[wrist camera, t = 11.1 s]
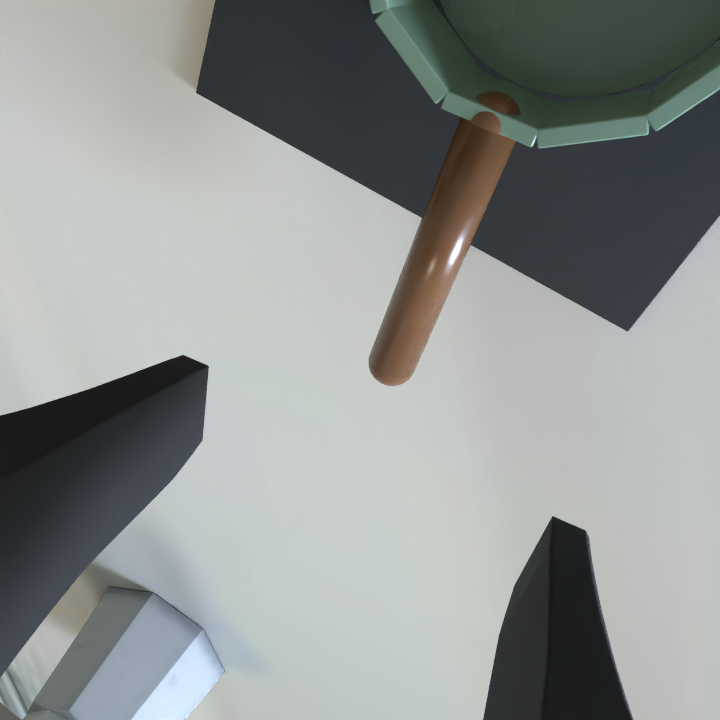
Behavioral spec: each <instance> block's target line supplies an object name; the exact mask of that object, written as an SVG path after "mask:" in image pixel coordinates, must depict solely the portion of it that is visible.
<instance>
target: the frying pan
mask: <svg viewBox="0 0 720 720" xmlns="http://www.w3.org/2000/svg"><path fill="white" fill-rule="evenodd" d="M369 1H370V7H371V12H372V14H376V13H381V12H382V13H381V14H380V15H379V16H378V17H377V18H376V19H375V22H376V23H377V25H378V26H379V28H380V29H381V30H382V32H383V33H384V34H385V36H386V37H387V39H388V40H389V41H390V43H391V44H392V45H393V47H394V48H395V49H396V51H397V52H398V54H399V55H400V56H401V58H402V59H403V60H404V62H405V63H406V65H407V66H408V67H409V69H410V70H411V71H412V73H413V74H414V76H415V77H416V78H417V80H418V81H419V82H420V84H421V85H422V86H423V88H424V89H425V91H426V92H427V93H428V95H429V96H430V97H431V99H432V100H433V102H434V103H436V104H437V103H439V102H440V101H442V100H443V102H442V105H441V108H442V109H443V110H445V111H448V112H450V113H452V114H455V115H457V116H459V117H461V118H460V120H459V123H458V126H457V128H456V131H455V133H454V136H453V139H452V141H451V144H450V147H449V149H448V152H447V154H446V157H445V160H444V162H443V165H442V167H441V170H440V173H439V175H438V178H437V181H436V183H435V186H434V188H433V191H432V194H431V196H430V199H429V201H428V204H427V207H426V209H425V212H424V215H423V217H422V220H421V222H420V225H419V228H418V230H417V233H416V235H415V238H414V241H413V243H412V246H411V248H410V251H409V254H408V256H407V259H406V262H405V264H404V267H403V269H402V272H401V275H400V277H399V280H398V282H397V285H396V288H395V290H394V293H393V296H392V298H391V301H390V303H389V306H388V309H387V311H386V314H385V316H384V319H383V322H382V324H381V327H380V330H379V332H378V335H377V337H376V340H375V343H374V345H373V348H372V350H371V353H370V356H369V368H370V371H371V373H372V375H373V377H374V378H375V379H376V380H377V381H379V382H380V383H382V384H384V385H389V386H396V385H400V384H403V383H404V382H406V381H407V380H408V379H409V378H410V377H411V376H412V374H413V373H414V371H415V368H416V366H417V364H418V362H419V359H420V357H421V355H422V353H423V350H424V348H425V346H426V344H427V341H428V339H429V337H430V334H431V332H432V330H433V328H434V325H435V323H436V321H437V319H438V316H439V314H440V312H441V310H442V307H443V305H444V303H445V301H446V298H447V296H448V294H449V292H450V289H451V287H452V285H453V283H454V280H455V278H456V276H457V273H458V271H459V269H460V267H461V264H462V262H463V260H464V258H465V255H466V253H467V251H468V249H469V246H470V244H471V242H472V240H473V237H474V235H475V233H476V231H477V228H478V226H479V224H480V221H481V219H482V217H483V215H484V212H485V210H486V208H487V206H488V203H489V201H490V199H491V197H492V194H493V192H494V190H495V188H496V185H497V183H498V181H499V179H500V176H501V174H502V172H503V170H504V167H505V165H506V163H507V160H508V158H509V156H510V154H511V151H512V149H513V147H514V145H515V142H516V141H517V142H519V143H522V144H524V145H526V146H529V147H532V146H533V145H534V144H535V142H536V141H537V146H538V148H548V147H556V146H564V145H572V144H580V143H588V142H596V141H604V140H612V139H620V138H628V137H636V136H644V135H648V133H649V128H650V125H651V127H652V128H653V130H654V131H658V130H660V129H661V128H663V127H664V126H666V125H667V124H669V123H670V122H672V121H673V120H675V119H676V118H678V117H679V116H681V115H682V114H684V113H685V112H687V111H688V110H690V109H691V108H693V107H694V106H696V105H697V104H699V103H700V102H702V101H703V100H705V99H706V98H708V97H709V96H711V95H712V94H714V93H715V92H717V91H718V90H720V40H719V41H718V42H716V43H715V44H714V45H712V46H711V47H709V48H708V49H707V50H705V49H706V48H707V47H708V46H710V45H711V44H712V43H713V42H715V41H716V40H717V39H718V38H719V37H720V0H440V2H441V4H442V7H443V9H444V11H445V13H446V16H447V18H448V19H449V21H450V23H451V24H452V26H453V27H454V29H455V31H456V32H457V34H458V36H459V37H460V38H461V39H462V41H463V42H464V43H465V44H466V45H467V47H468V48H469V49H470V50H471V52H472V53H473V54H475V55H476V56H477V57H478V58H479V59H480V60H481V61H482V62H483V63H484V64H485V65H486V66H488V67H489V68H491V69H492V70H493V71H495V72H496V73H498V74H499V75H501V76H502V77H504V78H506V79H508V80H510V81H512V82H513V83H515V84H517V85H519V86H517V85H515V84H512V83H510V82H508V81H505V80H503V79H500V78H498V77H496V76H493V75H491V74H488V73H486V72H484V71H482V70H481V68H480V67H479V66H478V64H477V63H476V61H475V60H474V58H473V57H472V56H471V54H470V53H469V51H468V50H467V49H466V47H465V46H464V44H463V43H462V42H461V40H460V39H459V37H458V36H457V34H456V33H455V32H454V30H453V29H452V27H451V26H450V25H449V23H448V22H447V20H446V19H445V18H444V16H443V15H442V13H441V12H440V10H439V9H438V8H437V6H436V5H435V3H434V2H433V1H432V0H369ZM703 50H705V51H704V52H702V51H703ZM701 52H702V53H701ZM700 53H701V54H700ZM698 54H700V55H698ZM697 55H698V56H697ZM696 56H697V57H696ZM693 58H694V59H693ZM691 59H692V60H691ZM690 60H691V61H690ZM688 61H690V62H688ZM687 62H688V63H687ZM685 63H687V64H685ZM684 64H685V65H684ZM682 65H684V66H683V67H681V68H680V69H678V70H677V71H676V72H674V73H673V74H671V75H670V76H669V77H667V78H666V79H664V80H663V81H662V82H660V83H659V84H657V85H656V86H655V87H653V88H652V89H649V90H642V91H635V92H629V93H622V94H616V95H609V94H614V93H619V92H623V91H627V90H630V89H633V88H636V87H639V86H642V85H645V84H647V83H650V82H652V81H654V80H656V79H658V78H660V77H662V76H664V75H666V74H669V73H671V72H672V71H674V70H676V69H677V68H679V67H680V66H682ZM520 86H522V87H525V88H528V89H531V90H533V91H536V92H539V93H544V94H549V95H555V96H560V97H580V98H583V97H594V96H602V97H596V98H589V99H582V100H576V101H569V102H563V103H558V102H555V101H553V100H551V99H548V98H546V97H543V96H541V95H539V94H536V93H534V92H531V91H529V90H527V89H524V88H522V87H520ZM605 95H609V96H605Z"/></svg>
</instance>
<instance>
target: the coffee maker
mask: <svg viewBox="0 0 720 720" xmlns="http://www.w3.org/2000/svg"><path fill="white" fill-rule="evenodd" d="M224 672H225V671H224V669H223V667H222V666H221V664H220V662H219V660H218V658H217V656H216V654H215V652H214V650H213V648H212V646H211V644H210V642H209V640H208V638H207V636H206V634H205V632H204V630H203V629H202V628H201V627H199V626H198V625H197V624H195V623H194V622H192V621H191V620H190V619H188V618H187V617H186V616H184V615H183V614H181V613H180V612H179V611H177V610H176V609H175V608H173V607H172V606H171V605H169V604H168V603H166V602H165V601H164V600H162V599H161V598H160V597H158V596H157V595H155V594H154V593H151V592H143V591H135V590H127V589H119V588H112V587H109V589H108V590H107V592H106V593H105V595H104V596H103V598H102V599H101V601H100V602H99V604H98V605H97V607H96V608H95V610H94V611H93V613H92V614H91V616H90V617H89V619H88V620H87V622H86V623H85V625H84V626H83V628H82V629H81V631H80V632H79V634H78V635H77V637H76V638H75V640H74V641H73V643H72V644H71V646H70V647H69V649H68V650H67V652H66V653H65V655H64V656H63V658H62V659H61V661H60V662H59V664H58V665H57V667H56V668H55V670H54V671H53V673H52V674H51V676H50V677H49V679H48V680H47V682H46V683H45V685H44V686H43V688H42V689H41V691H40V692H39V694H38V695H37V697H36V698H35V700H34V701H33V703H32V705H31V707H30V709H29V711H28V713H27V715H26V716H25V717H24V718H23V720H185V719H186V717H187V716H188V715H189V714H190V713H191V712H192V710H193V709H194V708H195V707H196V706H197V705H198V703H199V702H200V701H201V700H202V699H203V698H204V696H205V695H206V694H207V693H208V692H209V690H210V689H211V688H212V687H213V685H214V684H215V683H216V682H217V680H218V679H219V678H220V677H221V676H222V674H223V673H224Z"/></svg>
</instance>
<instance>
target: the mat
mask: <svg viewBox="0 0 720 720" xmlns="http://www.w3.org/2000/svg"><path fill="white" fill-rule="evenodd" d="M432 1H433V2H434V3H435V5H436V6H437V8H438V9H439V10H440V12H441V13H442V15H443V16H444V18H445V19H446V20H447V22H448V23H449V25H450V26H451V27H452V29H453V30H454V32H455V33H456V34H457V32H456V31H455V29H454V27H453V26H452V24H451V23H450V21H449V19H448V18H447V16H446V13H445V11H444V9H443V7H442V4H441V2H440V0H432ZM381 13H382V12H381ZM381 13H376V14H372V12H371V7H370V1H369V0H215V5H214V10H213V14H212V19H211V24H210V29H209V33H208V38H207V43H206V48H205V53H204V57H203V62H202V67H201V72H200V76H199V81H198V86H197V91H196V93H197V94H199V95H201V96H203V97H205V98H206V99H208V100H210V101H212V102H214V103H216V104H217V105H219V106H221V107H223V108H225V109H226V110H228V111H230V112H232V113H234V114H235V115H237V116H239V117H241V118H243V119H244V120H246V121H248V122H250V123H252V124H253V125H255V126H257V127H259V128H261V129H263V130H264V131H266V132H268V133H270V134H272V135H273V136H275V137H277V138H279V139H281V140H282V141H284V142H286V143H288V144H290V145H291V146H293V147H295V148H297V149H299V150H300V151H302V152H304V153H306V154H308V155H310V156H311V157H313V158H315V159H317V160H319V161H320V162H322V163H324V164H326V165H328V166H329V167H331V168H333V169H335V170H337V171H338V172H340V173H342V174H344V175H346V176H348V177H349V178H351V179H353V180H355V181H357V182H358V183H360V184H362V185H364V186H366V187H367V188H369V189H371V190H373V191H375V192H376V193H378V194H380V195H382V196H384V197H385V198H387V199H389V200H391V201H393V202H395V203H396V204H398V205H400V206H402V207H404V208H405V209H407V210H409V211H411V212H413V213H414V214H416V215H418V216H420V217H423V215H424V212H425V209H426V207H427V204H428V201H429V199H430V196H431V194H432V191H433V188H434V186H435V183H436V181H437V178H438V175H439V173H440V170H441V167H442V165H443V162H444V160H445V157H446V154H447V152H448V149H449V147H450V144H451V141H452V139H453V136H454V133H455V131H456V128H457V126H458V123H459V120H460V118H461V117H459V116H457V115H455V114H452V113H450V112H448V111H445V110H443V109H442V108H441V105H442V102H443V100H442V101H440V102H439V103H437V104H436V103H434V102H433V100H432V99H431V97H430V96H429V95H428V93H427V92H426V91H425V89H424V88H423V86H422V85H421V84H420V82H419V81H418V80H417V78H416V77H415V76H414V74H413V73H412V71H411V70H410V69H409V67H408V66H407V65H406V63H405V62H404V60H403V59H402V58H401V56H400V55H399V54H398V52H397V51H396V49H395V48H394V47H393V45H392V44H391V43H390V41H389V40H388V39H387V37H386V36H385V34H384V33H383V32H382V30H381V29H380V28H379V26H378V25H377V23H376V22H375V19H376V18H377V17H378V16H379V15H380V14H381ZM457 36H458V34H457ZM458 37H459V36H458ZM459 39H460V40H461V42H462V43H463V44H464V46H465V47H466V49H467V50H468V51H469V53H470V54H471V56H472V57H473V58H474V60H475V61H476V63H477V64H478V66H479V67H480V68H481V70H482V71H484V72H486V73H488V74H491V75H493V76H496V77H498V78H500V79H503V80H505V81H508V82H510V83H512V84H515V83H513V82H512V81H510V80H508V79H506V78H504V77H502V76H501V75H499V74H498V73H496V72H495V71H493V70H492V69H491V68H489V67H488V66H486V65H485V64H484V63H483V62H482V61H481V60H480V59H479V58H478V57H477V56H476V55H475V54H473V53H472V52H471V50H470V49H469V48H468V47H467V45H466V44H465V43H464V42H463V41H462V39H461V38H460V37H459ZM719 40H720V37H719V38H718V39H717V40H716V41H715V42H713V43H712V44H711V45H710V46H708V47H707V48H706V49H705V50H707V49H708V48H709V47H711V46H712V45H714V44H715V43H716V42H718V41H719ZM705 50H703V51H702V52H704V51H705ZM702 52H701V53H702ZM701 53H700V54H701ZM700 54H698V55H700ZM698 55H697V56H698ZM697 56H696V57H697ZM693 59H694V58H693ZM691 60H692V59H691ZM691 60H690V61H691ZM690 61H688V62H690ZM688 62H687V63H688ZM687 63H685V64H687ZM685 64H684V65H685ZM684 65H682V66H680V67H679V68H677V69H676V70H674V71H672V72H671V73H669V74H666V75H664V76H662V77H660V78H658V79H656V80H654V81H652V82H650V83H647V84H645V85H642V86H639V87H636V88H633V89H630V90H627V91H623V92H619V93H614V94H609V95H616V94H622V93H629V92H635V91H642V90H649V89H652V88H653V87H655V86H656V85H657V84H659V83H660V82H662V81H663V80H664V79H666V78H667V77H669V76H670V75H671V74H673V73H674V72H676V71H677V70H678V69H680V68H681V67H683V66H684ZM515 85H517V84H515ZM517 86H519V85H517ZM520 87H522V86H520ZM522 88H524V89H527V90H529V91H531V92H534V93H536V94H539V95H541V96H543V97H546V98H548V99H551V100H553V101H555V102H558V103H563V102H569V101H576V100H582V99H589V98H596V97H602V96H594V97H583V98H580V97H560V96H555V95H549V94H544V93H539V92H536V91H533V90H531V89H528V88H525V87H522ZM609 95H605V96H609ZM719 216H720V90H718V91H717V92H715V93H714V94H712V95H711V96H709V97H708V98H706V99H705V100H703V101H702V102H700V103H699V104H697V105H696V106H694V107H693V108H691V109H690V110H688V111H687V112H685V113H684V114H682V115H681V116H679V117H678V118H676V119H675V120H673V121H672V122H670V123H669V124H667V125H666V126H664V127H663V128H661V129H660V130H658V131H654V130H653V128H652V127H651V125H650V128H649V133H648V135H644V136H636V137H628V138H620V139H612V140H604V141H596V142H588V143H580V144H572V145H564V146H556V147H548V148H538V146H537V141H536V142H535V144H534V145H533V146H532V147H529V146H526V145H524V144H522V143H519V142H517V141H516V142H515V145H514V147H513V149H512V151H511V154H510V156H509V158H508V160H507V163H506V165H505V167H504V170H503V172H502V174H501V176H500V179H499V181H498V183H497V185H496V188H495V190H494V192H493V194H492V197H491V199H490V201H489V203H488V206H487V208H486V210H485V212H484V215H483V217H482V219H481V221H480V224H479V226H478V228H477V231H476V233H475V235H474V237H473V240H472V242H471V244H470V245H472V246H474V247H476V248H478V249H479V250H481V251H483V252H485V253H487V254H489V255H490V256H492V257H494V258H496V259H498V260H499V261H501V262H503V263H505V264H507V265H508V266H510V267H512V268H514V269H516V270H517V271H519V272H521V273H523V274H525V275H527V276H528V277H530V278H532V279H534V280H536V281H537V282H539V283H541V284H543V285H545V286H546V287H548V288H550V289H552V290H554V291H555V292H557V293H559V294H561V295H563V296H564V297H566V298H568V299H570V300H572V301H574V302H575V303H577V304H579V305H581V306H583V307H584V308H586V309H588V310H590V311H592V312H593V313H595V314H597V315H599V316H601V317H602V318H604V319H606V320H608V321H610V322H611V323H613V324H615V325H617V326H619V327H621V328H622V329H624V330H626V331H629V329H630V328H631V327H632V326H633V324H634V323H635V322H636V321H637V319H638V318H639V317H640V316H641V314H642V313H643V312H644V310H645V309H646V308H647V307H648V305H649V304H650V303H651V302H652V300H653V299H654V298H655V297H656V295H657V294H658V293H659V291H660V290H661V289H662V288H663V286H664V285H665V284H666V283H667V281H668V280H669V279H670V278H671V276H672V275H673V274H674V273H675V271H676V270H677V269H678V267H679V266H680V265H681V264H682V262H683V261H684V260H685V259H686V257H687V256H688V255H689V254H690V252H691V251H692V250H693V248H694V247H695V246H696V245H697V243H698V242H699V241H700V240H701V238H702V237H703V236H704V235H705V233H706V232H707V231H708V229H709V228H710V227H711V226H712V224H713V223H714V222H715V221H716V219H717V218H718V217H719Z"/></svg>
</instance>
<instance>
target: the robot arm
mask: <svg viewBox="0 0 720 720" xmlns="http://www.w3.org/2000/svg"><path fill="white" fill-rule="evenodd" d="M208 369H209V366H207V365H205V364H203V363H200V362H198V361H196V360H193V359H191V358H189V357H187V356H184V355H182V356H179V357H176V358H173V359H170V360H167V361H164V362H162V363H159V364H156V365H154V366H151V367H148V368H146V369H143V370H140V371H138V372H135V373H132V374H130V375H127V376H124V377H121V378H119V379H116V380H113V381H110V382H108V383H105V384H102V385H99V386H96V387H94V388H91V389H88V390H85V391H82V392H79V393H76V394H73V395H70V396H66V397H63V398H60V399H57V400H54V401H51V402H47V403H44V404H41V405H38V406H35V407H31V408H28V409H24V410H20V411H17V412H13V413H9V414H5V415H1V416H0V677H1V676H2V675H3V673H4V672H5V671H6V669H7V668H8V666H9V665H10V664H11V662H12V661H13V660H14V658H15V657H16V655H17V654H18V653H19V651H20V650H21V649H22V647H23V646H24V645H25V644H26V642H27V641H28V640H29V638H30V637H31V636H32V635H33V633H34V632H35V631H36V629H37V628H38V627H39V625H40V624H41V623H42V622H43V620H44V619H45V618H46V616H47V615H48V614H49V612H50V611H51V610H52V609H53V607H54V606H55V605H56V604H57V603H58V601H59V600H60V599H61V598H62V596H63V595H64V594H65V593H66V591H67V590H68V589H69V588H70V587H71V585H72V584H73V583H74V582H75V580H76V579H77V578H78V577H79V575H80V574H81V573H82V572H83V571H84V570H85V569H86V567H87V566H88V565H89V564H90V563H91V562H92V561H93V560H94V559H95V558H96V557H97V555H98V554H99V553H100V552H101V551H102V550H103V549H104V548H105V547H106V546H107V545H108V544H109V543H110V542H111V541H112V540H113V539H114V538H115V537H116V536H117V535H118V534H119V533H120V532H121V531H122V530H123V529H124V528H125V527H126V526H127V525H128V524H129V523H130V522H131V521H132V520H133V519H134V518H135V517H136V516H137V515H138V514H139V513H140V512H141V511H142V510H143V509H144V508H145V507H146V506H147V505H148V504H149V503H150V502H151V501H152V500H153V499H154V498H155V497H156V496H157V495H158V494H159V493H160V492H161V491H162V490H163V489H164V488H165V487H166V486H167V485H168V484H169V483H170V481H171V480H172V479H173V478H174V477H175V476H176V475H177V473H178V472H179V471H180V469H181V468H182V467H183V466H184V464H185V463H186V462H187V460H188V459H189V458H190V456H191V455H192V454H193V452H194V451H195V450H196V448H197V447H198V445H199V444H200V443H201V441H202V438H203V427H204V415H205V404H206V392H207V380H208ZM483 720H633V717H632V714H631V711H630V709H629V706H628V703H627V700H626V697H625V693H624V690H623V687H622V684H621V681H620V677H619V674H618V671H617V668H616V664H615V661H614V657H613V653H612V650H611V646H610V642H609V638H608V634H607V630H606V626H605V622H604V618H603V614H602V610H601V605H600V601H599V596H598V591H597V586H596V581H595V575H594V570H593V564H592V557H591V550H590V543H589V537H588V535H587V532H586V531H585V530H583V529H581V528H578V527H576V526H574V525H571V524H569V523H567V522H565V521H562V520H560V519H558V518H555V517H553V516H552V518H551V520H550V522H549V524H548V526H547V527H546V529H545V531H544V533H543V535H542V536H541V538H540V540H539V542H538V544H537V546H536V547H535V549H534V551H533V553H532V555H531V556H530V558H529V560H528V562H527V564H526V566H525V567H524V569H523V571H522V573H521V575H520V576H519V578H518V580H517V582H516V584H515V586H514V589H513V592H512V595H511V598H510V602H509V605H508V608H507V611H506V614H505V618H504V621H503V624H502V628H501V631H500V634H499V639H498V644H497V649H496V654H495V659H494V665H493V670H492V675H491V681H490V686H489V691H488V697H487V702H486V708H485V713H484V718H483Z"/></svg>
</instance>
